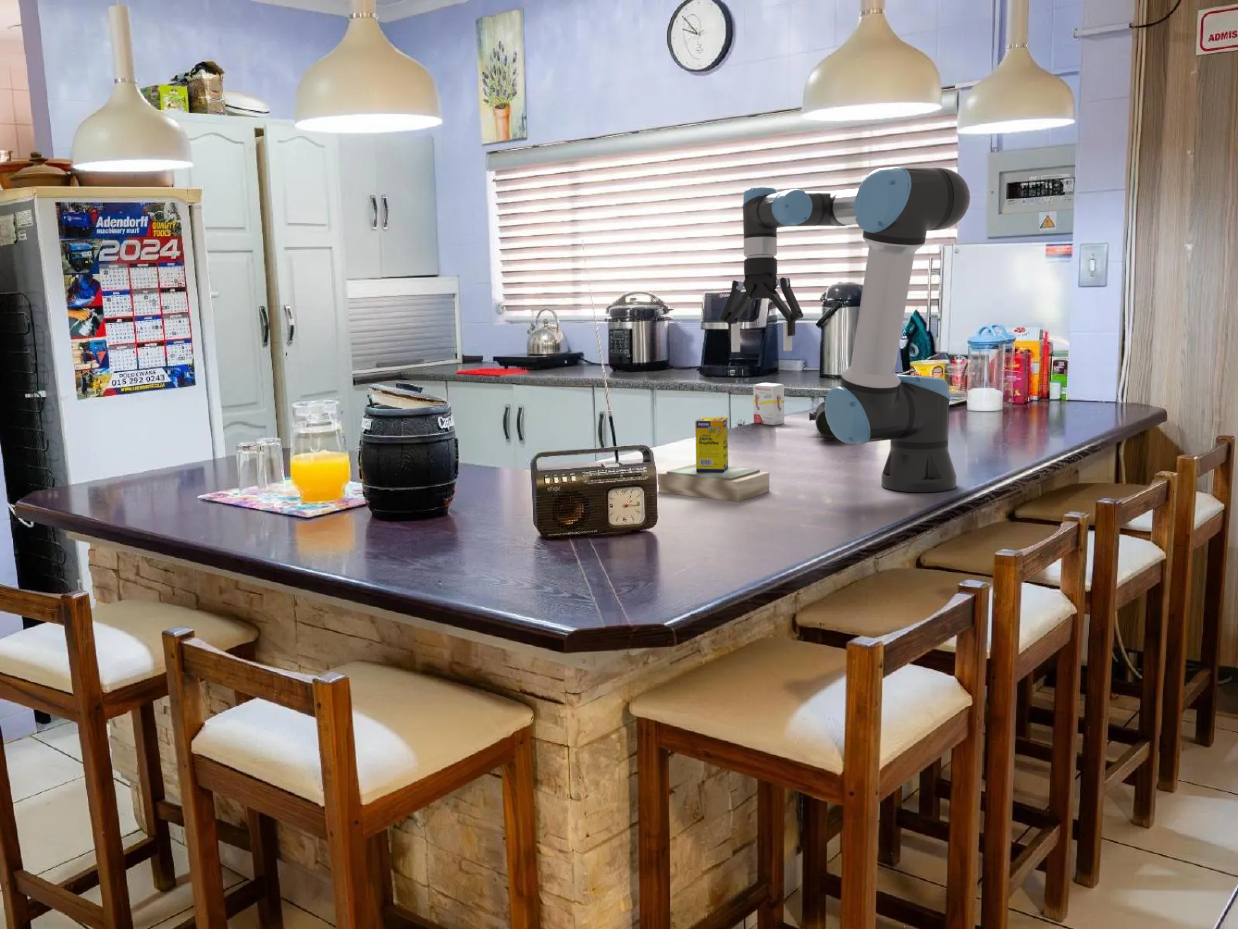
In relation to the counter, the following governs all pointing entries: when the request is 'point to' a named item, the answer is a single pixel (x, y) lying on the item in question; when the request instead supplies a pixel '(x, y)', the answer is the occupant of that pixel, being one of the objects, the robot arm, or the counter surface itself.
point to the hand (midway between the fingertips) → (761, 351)
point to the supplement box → (711, 444)
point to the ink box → (768, 403)
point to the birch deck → (714, 483)
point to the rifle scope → (821, 421)
